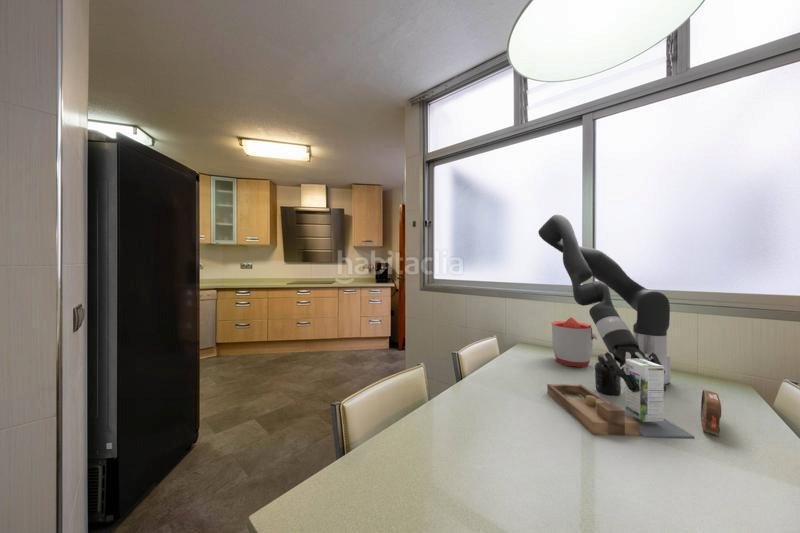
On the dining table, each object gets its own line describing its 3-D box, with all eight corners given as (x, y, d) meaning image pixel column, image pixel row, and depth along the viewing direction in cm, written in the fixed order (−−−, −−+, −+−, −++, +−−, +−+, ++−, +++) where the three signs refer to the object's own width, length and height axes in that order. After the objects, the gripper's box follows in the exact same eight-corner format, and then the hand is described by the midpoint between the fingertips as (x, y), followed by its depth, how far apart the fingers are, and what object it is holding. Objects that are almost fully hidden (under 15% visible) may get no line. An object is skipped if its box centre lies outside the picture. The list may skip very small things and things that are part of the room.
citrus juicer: (600, 372, 109) (599, 322, 110) (550, 365, 118) (550, 318, 119) (597, 361, 123) (596, 316, 123) (552, 355, 132) (552, 313, 132)
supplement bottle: (611, 388, 95) (611, 353, 95) (626, 397, 88) (625, 359, 88) (590, 387, 95) (590, 352, 96) (603, 396, 89) (602, 359, 89)
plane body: (581, 393, 91) (581, 375, 91) (639, 435, 68) (639, 411, 68) (547, 393, 91) (547, 375, 91) (593, 434, 68) (593, 410, 68)
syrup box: (624, 411, 76) (623, 358, 76) (644, 410, 76) (643, 358, 76) (643, 422, 70) (643, 365, 70) (665, 421, 71) (665, 365, 71)
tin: (700, 414, 78) (699, 384, 78) (717, 418, 75) (716, 387, 76) (703, 437, 67) (702, 402, 67) (723, 442, 65) (722, 406, 65)
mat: (651, 412, 79) (651, 411, 79) (694, 437, 67) (694, 436, 67) (608, 411, 79) (608, 410, 79) (643, 436, 67) (643, 435, 67)
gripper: (633, 341, 86) (669, 397, 74) (586, 341, 87) (613, 396, 75) (647, 328, 81) (688, 386, 69) (597, 327, 81) (628, 385, 69)
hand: (649, 391), depth 72 cm, fingers closed on syrup box, 6 cm apart
